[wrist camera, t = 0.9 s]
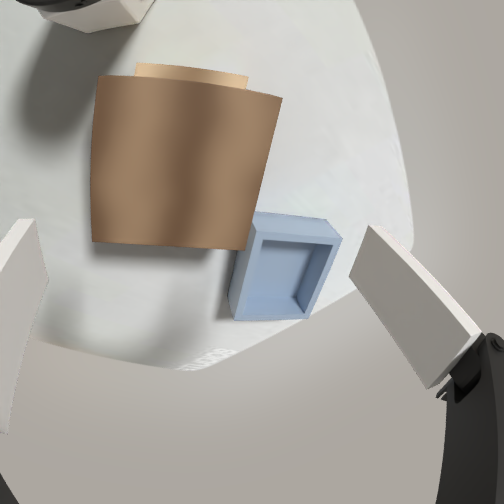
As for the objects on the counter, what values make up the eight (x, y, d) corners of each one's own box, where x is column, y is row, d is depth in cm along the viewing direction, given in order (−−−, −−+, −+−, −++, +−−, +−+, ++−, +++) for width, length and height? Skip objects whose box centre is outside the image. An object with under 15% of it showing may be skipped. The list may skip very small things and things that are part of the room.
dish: (227, 295, 35) (233, 320, 32) (246, 210, 30) (256, 230, 26) (296, 296, 38) (308, 318, 35) (325, 219, 32) (342, 238, 29)
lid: (98, 225, 22) (92, 241, 20) (107, 75, 16) (98, 76, 14) (238, 234, 26) (244, 250, 24) (271, 95, 20) (282, 98, 18)
